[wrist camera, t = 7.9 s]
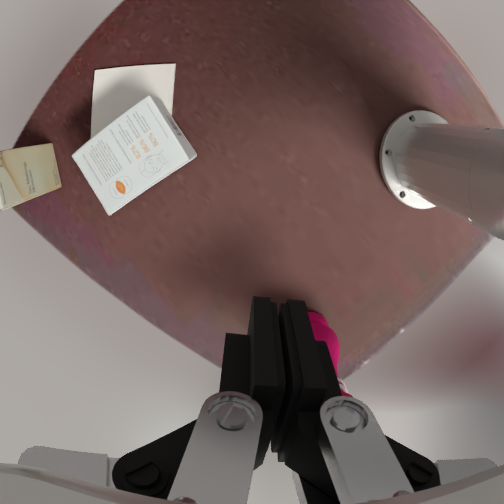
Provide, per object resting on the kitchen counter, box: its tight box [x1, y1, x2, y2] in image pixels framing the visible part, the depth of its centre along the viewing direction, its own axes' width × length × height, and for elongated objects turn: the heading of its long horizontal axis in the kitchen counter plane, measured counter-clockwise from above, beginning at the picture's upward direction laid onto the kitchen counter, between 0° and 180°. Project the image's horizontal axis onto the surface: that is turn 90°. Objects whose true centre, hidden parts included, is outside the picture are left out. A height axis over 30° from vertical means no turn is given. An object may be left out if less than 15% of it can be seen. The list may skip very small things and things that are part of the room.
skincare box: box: [0, 143, 61, 212], centre depth 28 cm, size 6×4×12 cm
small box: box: [72, 95, 197, 215], centre depth 31 cm, size 8×6×10 cm
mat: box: [91, 64, 176, 138], centre depth 32 cm, size 10×12×1 cm
